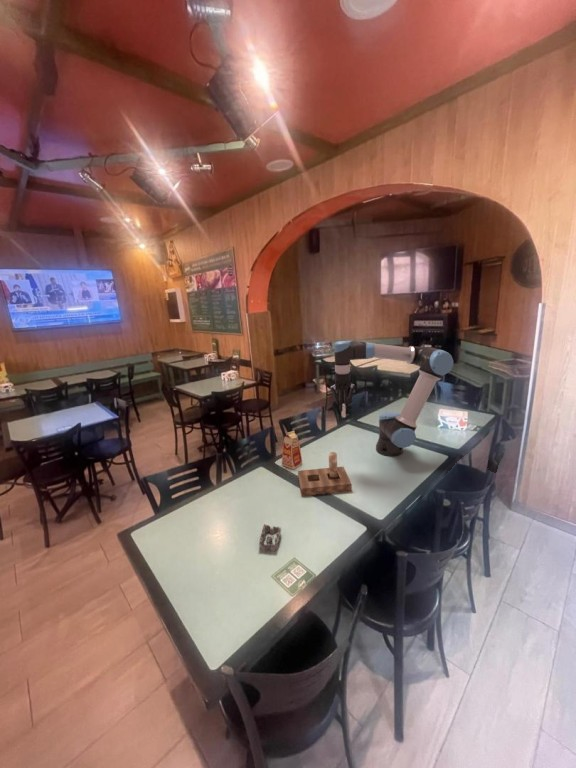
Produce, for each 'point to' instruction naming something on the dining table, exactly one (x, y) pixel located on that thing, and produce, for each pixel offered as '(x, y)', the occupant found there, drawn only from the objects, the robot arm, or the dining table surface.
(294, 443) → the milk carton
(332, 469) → the peg
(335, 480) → the board
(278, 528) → the egg carton
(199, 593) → the dining table surface
